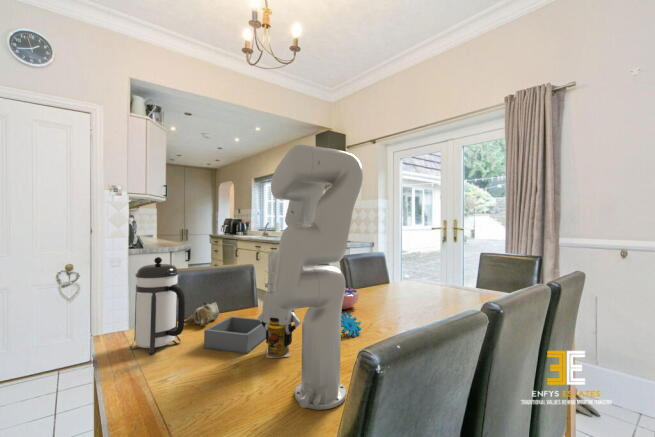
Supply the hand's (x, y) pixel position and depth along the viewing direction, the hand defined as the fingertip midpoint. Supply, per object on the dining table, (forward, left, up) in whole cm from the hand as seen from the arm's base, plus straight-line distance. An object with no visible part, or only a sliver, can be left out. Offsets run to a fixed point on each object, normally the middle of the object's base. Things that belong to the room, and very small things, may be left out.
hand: (278, 343), depth 99 cm
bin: (+4, +17, -3) cm, 18 cm away
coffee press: (-7, +40, -3) cm, 41 cm away
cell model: (+58, -9, -3) cm, 59 cm away
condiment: (0, 0, -3) cm, 3 cm away
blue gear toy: (+24, -19, -3) cm, 31 cm away
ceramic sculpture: (+18, +41, -3) cm, 45 cm away
